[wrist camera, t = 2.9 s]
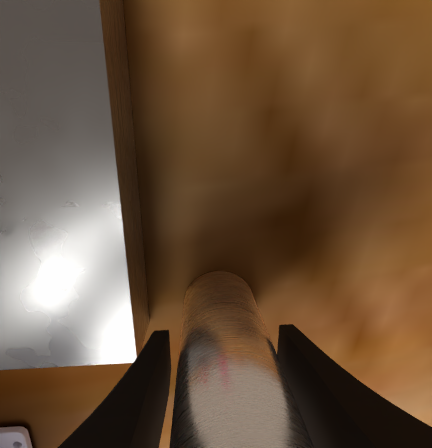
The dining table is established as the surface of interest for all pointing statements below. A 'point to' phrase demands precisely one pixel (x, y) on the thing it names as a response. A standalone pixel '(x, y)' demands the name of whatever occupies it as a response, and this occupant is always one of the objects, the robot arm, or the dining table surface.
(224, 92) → the dining table surface
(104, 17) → the dock plate
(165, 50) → the dining table surface
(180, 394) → the steel peg
